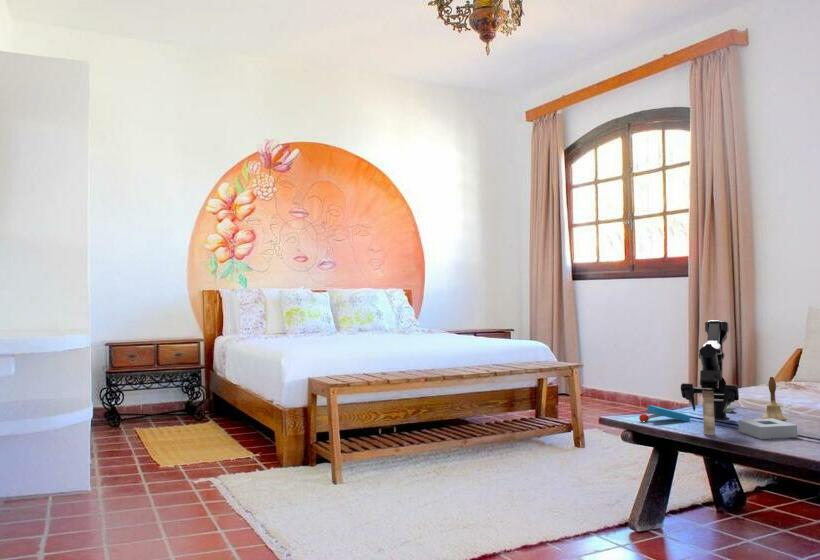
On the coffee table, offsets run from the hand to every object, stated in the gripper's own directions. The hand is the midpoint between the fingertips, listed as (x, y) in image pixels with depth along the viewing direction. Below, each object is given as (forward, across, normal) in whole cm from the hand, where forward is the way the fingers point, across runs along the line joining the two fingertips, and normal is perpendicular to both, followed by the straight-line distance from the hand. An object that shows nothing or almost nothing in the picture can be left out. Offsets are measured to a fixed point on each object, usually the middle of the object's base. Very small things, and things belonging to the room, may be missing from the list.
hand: (708, 411), depth 241 cm
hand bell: (-22, +19, +33) cm, 44 cm away
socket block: (+1, +18, +11) cm, 21 cm away
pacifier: (-29, +2, +41) cm, 50 cm away
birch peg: (+5, 0, +6) cm, 8 cm away
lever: (-8, -18, +21) cm, 29 cm away
